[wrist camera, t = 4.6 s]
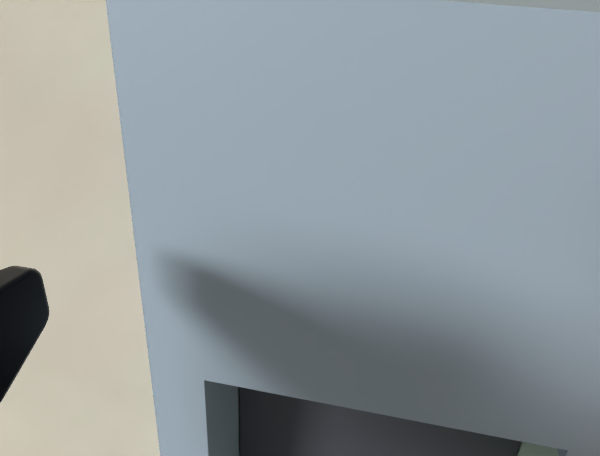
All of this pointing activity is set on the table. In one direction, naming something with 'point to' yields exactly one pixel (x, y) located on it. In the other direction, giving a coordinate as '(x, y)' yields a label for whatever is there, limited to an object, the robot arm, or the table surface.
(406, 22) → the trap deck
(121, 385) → the table surface
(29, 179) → the table surface
